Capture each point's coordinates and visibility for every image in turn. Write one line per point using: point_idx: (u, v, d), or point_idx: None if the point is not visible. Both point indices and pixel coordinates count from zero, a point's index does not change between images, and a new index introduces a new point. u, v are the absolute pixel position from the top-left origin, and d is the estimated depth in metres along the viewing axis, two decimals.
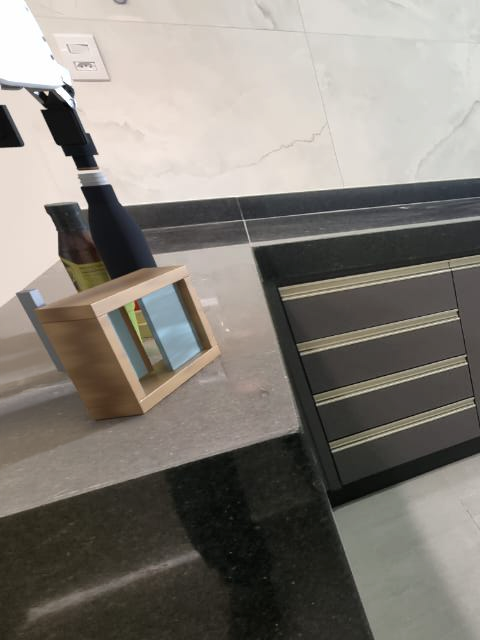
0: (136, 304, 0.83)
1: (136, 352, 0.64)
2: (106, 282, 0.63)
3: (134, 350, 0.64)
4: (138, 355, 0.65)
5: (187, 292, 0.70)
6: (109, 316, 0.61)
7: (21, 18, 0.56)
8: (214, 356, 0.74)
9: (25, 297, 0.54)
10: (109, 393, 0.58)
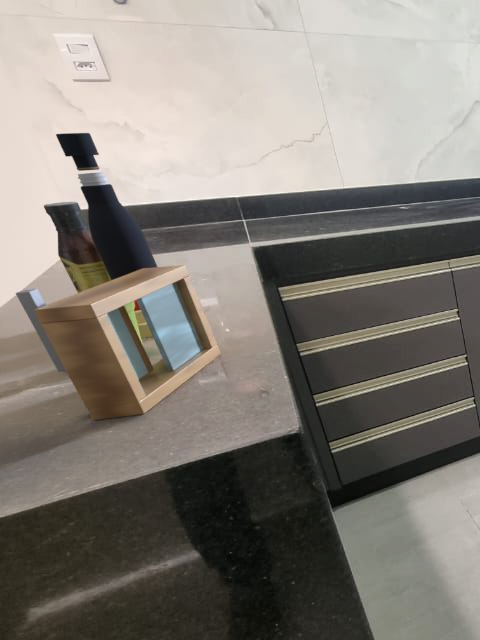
0: (136, 304, 0.83)
1: (136, 352, 0.64)
2: (106, 282, 0.63)
3: (134, 350, 0.64)
4: (138, 355, 0.65)
5: (187, 292, 0.70)
6: (109, 316, 0.61)
7: None
8: (214, 356, 0.74)
9: (25, 297, 0.54)
10: (109, 393, 0.58)
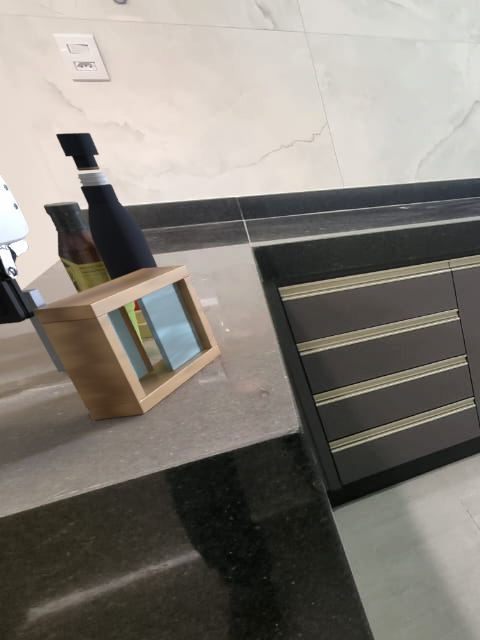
0: (136, 304, 0.83)
1: (136, 352, 0.64)
2: (106, 282, 0.63)
3: (134, 350, 0.64)
4: (138, 355, 0.65)
5: (187, 292, 0.70)
6: (109, 316, 0.61)
7: None
8: (214, 356, 0.74)
9: (25, 297, 0.54)
10: (109, 393, 0.58)
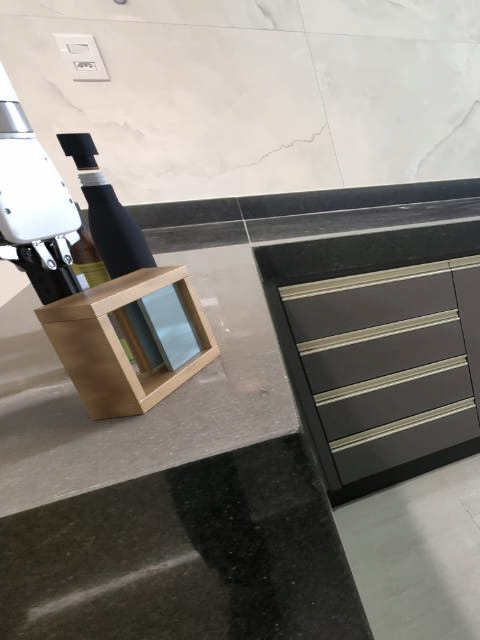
0: None
1: None
2: (106, 282, 0.63)
3: None
4: None
5: (187, 292, 0.70)
6: None
7: (40, 171, 0.55)
8: (214, 356, 0.74)
9: None
10: (109, 393, 0.58)
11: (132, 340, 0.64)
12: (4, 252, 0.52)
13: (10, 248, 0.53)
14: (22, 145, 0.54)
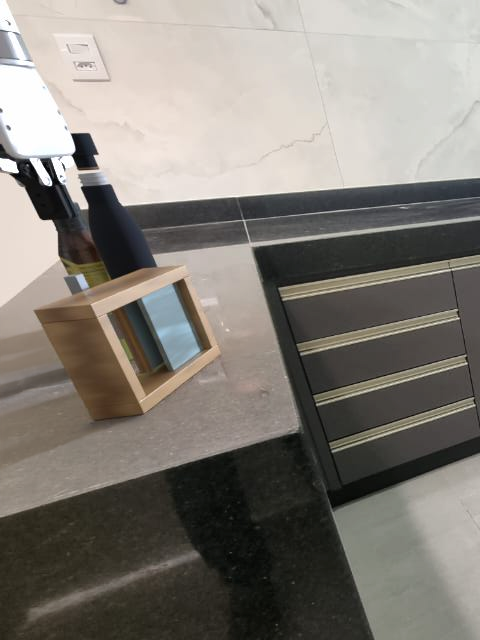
0: None
1: None
2: (106, 282, 0.63)
3: None
4: None
5: (187, 292, 0.70)
6: None
7: (38, 97, 0.63)
8: (214, 356, 0.74)
9: (72, 281, 0.60)
10: (109, 393, 0.58)
11: (131, 340, 0.64)
12: (5, 164, 0.60)
13: (10, 162, 0.60)
14: (22, 72, 0.61)
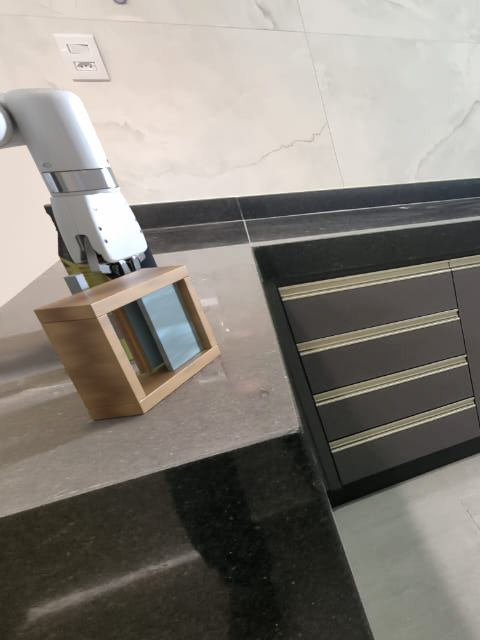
0: None
1: None
2: (106, 282, 0.63)
3: None
4: None
5: (187, 292, 0.70)
6: None
7: (123, 212, 0.81)
8: (214, 356, 0.74)
9: (72, 281, 0.60)
10: (109, 393, 0.58)
11: (131, 340, 0.64)
12: (103, 268, 0.78)
13: (106, 265, 0.79)
14: (112, 195, 0.79)
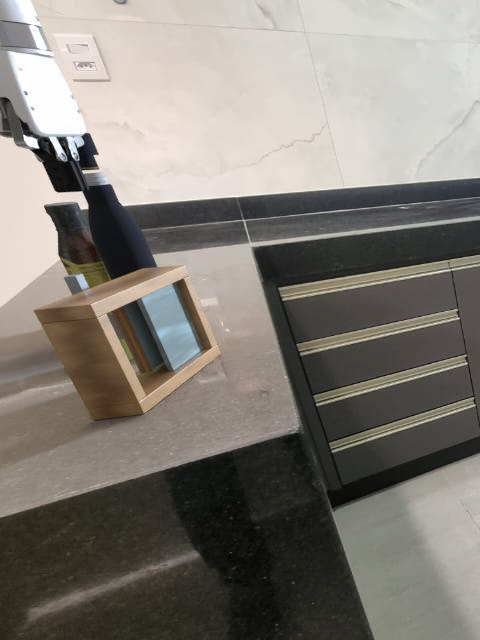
0: None
1: None
2: (106, 282, 0.63)
3: None
4: None
5: (187, 292, 0.70)
6: None
7: (56, 83, 0.71)
8: (214, 356, 0.74)
9: (72, 281, 0.60)
10: (109, 393, 0.58)
11: (131, 340, 0.64)
12: (29, 141, 0.68)
13: (33, 139, 0.69)
14: (43, 61, 0.70)
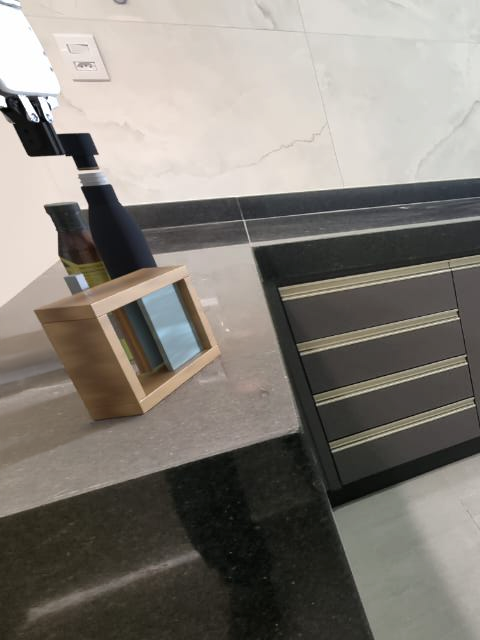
0: None
1: None
2: (106, 282, 0.63)
3: None
4: None
5: (187, 292, 0.70)
6: None
7: (25, 36, 0.66)
8: (214, 356, 0.74)
9: (72, 281, 0.60)
10: (109, 393, 0.58)
11: (131, 340, 0.64)
12: None
13: None
14: (9, 11, 0.64)
